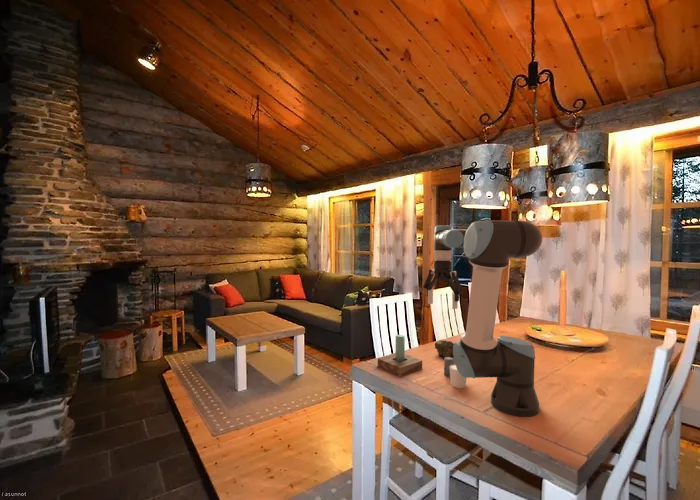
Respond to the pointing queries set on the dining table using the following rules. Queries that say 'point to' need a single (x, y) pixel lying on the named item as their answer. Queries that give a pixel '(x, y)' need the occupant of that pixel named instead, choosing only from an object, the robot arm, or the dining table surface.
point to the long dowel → (400, 348)
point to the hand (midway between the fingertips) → (442, 306)
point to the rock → (444, 348)
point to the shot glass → (457, 378)
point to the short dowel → (448, 365)
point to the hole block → (400, 364)
